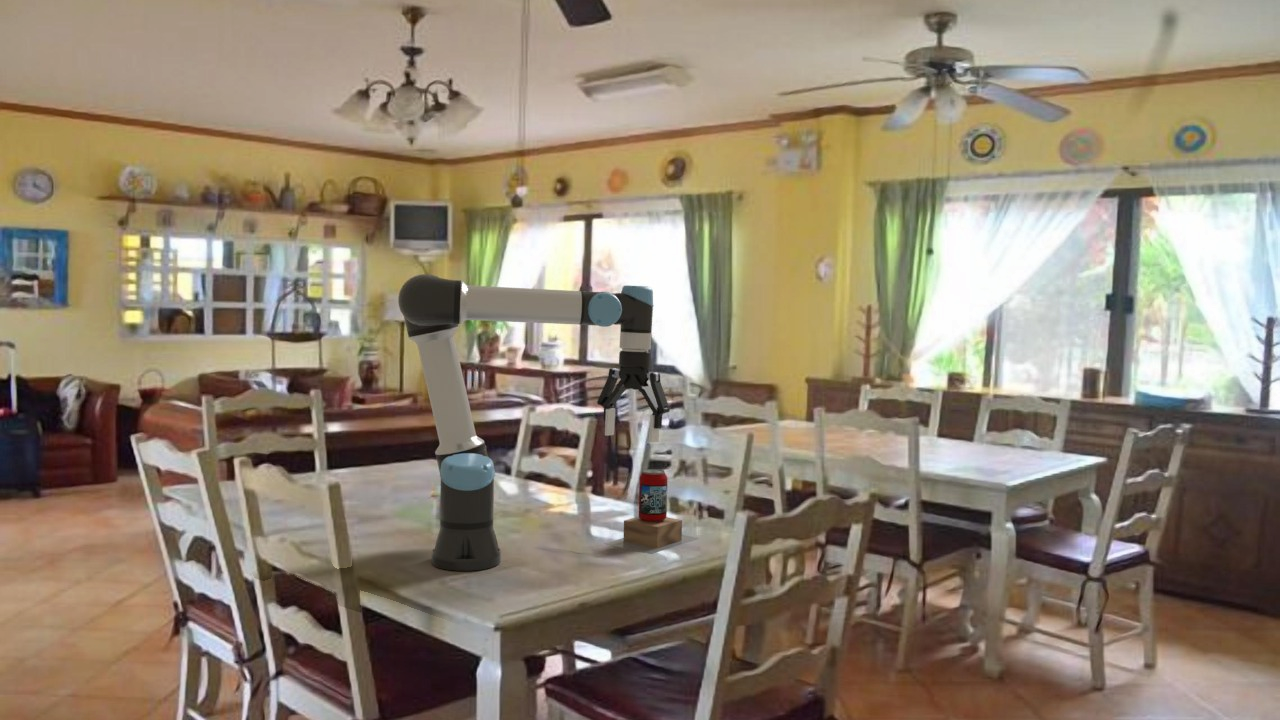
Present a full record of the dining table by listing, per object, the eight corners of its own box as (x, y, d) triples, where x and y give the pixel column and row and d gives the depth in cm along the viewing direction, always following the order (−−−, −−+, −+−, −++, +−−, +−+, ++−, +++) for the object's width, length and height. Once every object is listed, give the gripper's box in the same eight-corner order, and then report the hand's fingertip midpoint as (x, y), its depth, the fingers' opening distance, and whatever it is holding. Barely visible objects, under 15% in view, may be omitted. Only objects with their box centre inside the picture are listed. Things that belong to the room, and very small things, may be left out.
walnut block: (657, 548, 237) (657, 527, 236) (623, 541, 243) (623, 520, 242) (681, 540, 245) (682, 520, 244) (648, 533, 251) (648, 513, 250)
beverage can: (642, 523, 239) (643, 473, 239) (635, 517, 246) (636, 468, 245) (670, 522, 241) (671, 472, 240) (661, 516, 248) (663, 468, 247)
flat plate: (651, 558, 232) (651, 553, 232) (603, 548, 240) (603, 543, 240) (699, 543, 248) (699, 538, 248) (653, 533, 256) (653, 529, 256)
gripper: (686, 353, 237) (682, 443, 239) (605, 346, 253) (601, 431, 254) (668, 354, 231) (663, 446, 233) (585, 347, 247) (581, 433, 248)
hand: (631, 438), depth 243 cm, fingers open, 13 cm apart
